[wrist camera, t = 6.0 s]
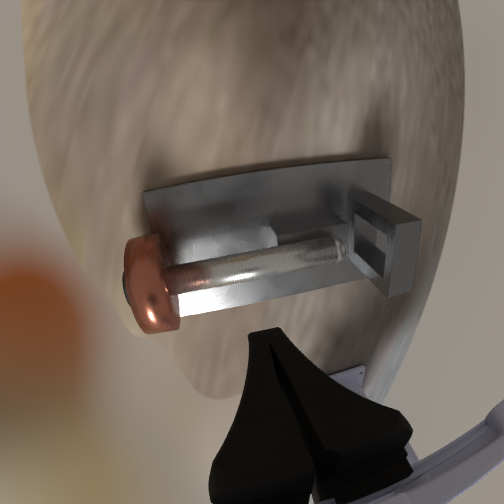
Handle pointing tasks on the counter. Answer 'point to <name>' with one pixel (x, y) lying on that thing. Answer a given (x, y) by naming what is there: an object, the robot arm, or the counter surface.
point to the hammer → (207, 273)
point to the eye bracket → (289, 227)
